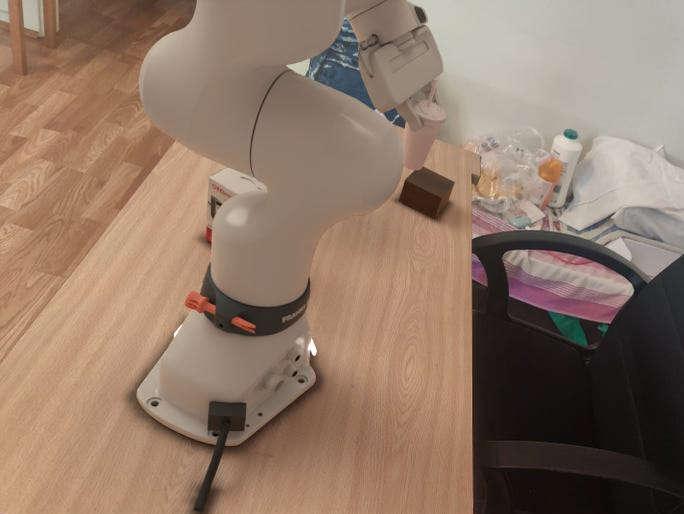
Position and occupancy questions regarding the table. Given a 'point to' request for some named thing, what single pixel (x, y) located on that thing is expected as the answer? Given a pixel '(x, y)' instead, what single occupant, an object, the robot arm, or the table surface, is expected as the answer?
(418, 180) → the block
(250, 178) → the ink box
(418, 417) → the table surface
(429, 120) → the smoothie
